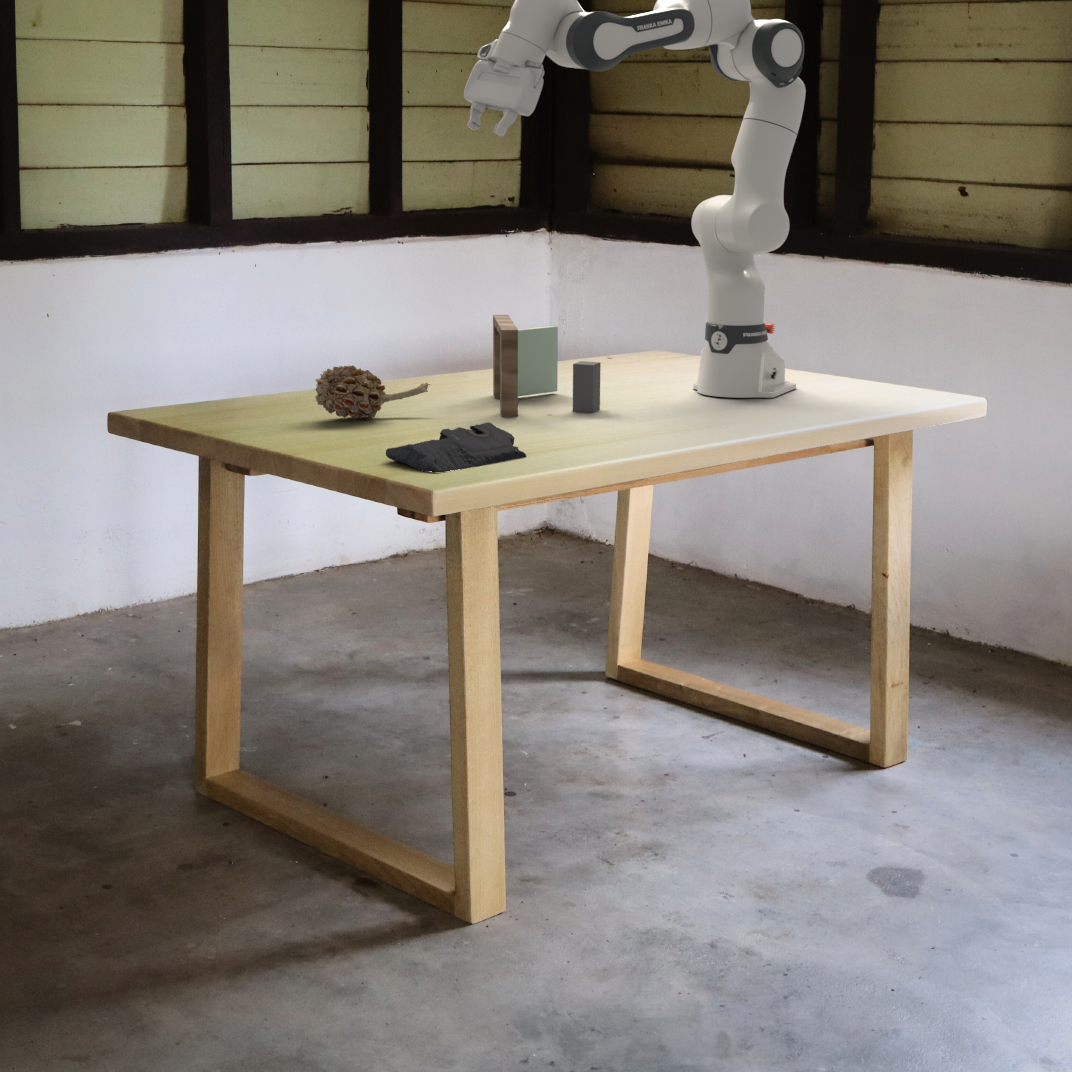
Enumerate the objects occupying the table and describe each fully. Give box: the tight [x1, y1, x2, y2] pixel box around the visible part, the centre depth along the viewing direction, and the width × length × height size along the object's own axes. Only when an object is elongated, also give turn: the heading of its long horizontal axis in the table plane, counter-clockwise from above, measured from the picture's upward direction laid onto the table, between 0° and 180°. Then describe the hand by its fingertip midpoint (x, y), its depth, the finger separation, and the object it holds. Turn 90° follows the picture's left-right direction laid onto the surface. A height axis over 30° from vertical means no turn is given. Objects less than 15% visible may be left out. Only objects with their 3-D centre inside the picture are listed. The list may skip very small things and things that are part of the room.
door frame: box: [492, 314, 519, 418], centre depth 289 cm, size 25×3×16 cm, turn 5°
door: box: [517, 325, 559, 397], centre depth 300 cm, size 13×3×13 cm, turn 130°
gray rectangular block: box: [572, 360, 601, 414], centre depth 285 cm, size 4×4×9 cm
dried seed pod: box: [315, 365, 431, 420], centre depth 277 cm, size 22×10×10 cm, turn 117°
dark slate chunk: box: [385, 421, 527, 473], centre depth 242 cm, size 15×22×5 cm
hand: (484, 131), depth 271 cm, fingers open, 8 cm apart
